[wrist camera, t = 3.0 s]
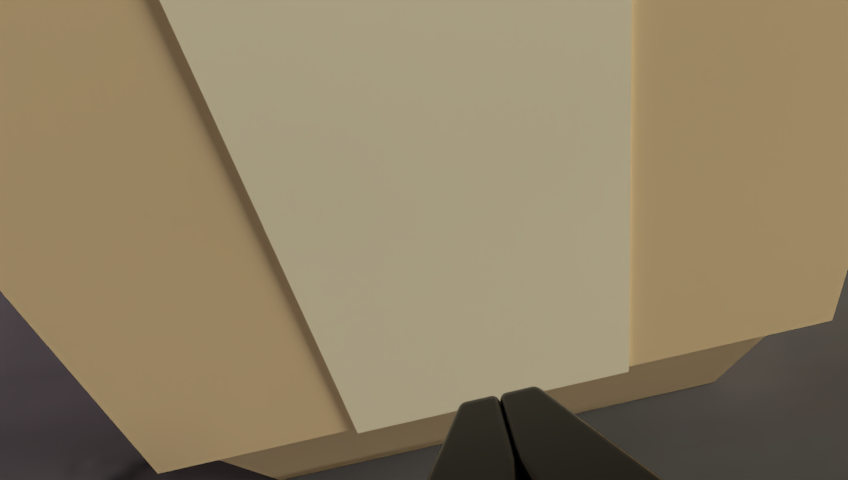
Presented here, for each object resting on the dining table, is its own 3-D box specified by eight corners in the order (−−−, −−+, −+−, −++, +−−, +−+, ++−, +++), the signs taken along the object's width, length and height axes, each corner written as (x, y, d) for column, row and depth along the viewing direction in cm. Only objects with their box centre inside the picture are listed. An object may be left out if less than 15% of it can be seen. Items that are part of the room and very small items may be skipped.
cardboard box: (713, 382, 22) (814, 291, 14) (280, 480, 22) (161, 441, 15) (606, 75, 26) (643, -122, 18) (238, 162, 26) (126, 3, 18)
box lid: (772, 228, 16) (835, 324, 14) (168, 367, 16) (157, 479, 14) (904, -474, 8) (1072, -452, 7) (-227, -192, 8) (-346, -98, 7)
